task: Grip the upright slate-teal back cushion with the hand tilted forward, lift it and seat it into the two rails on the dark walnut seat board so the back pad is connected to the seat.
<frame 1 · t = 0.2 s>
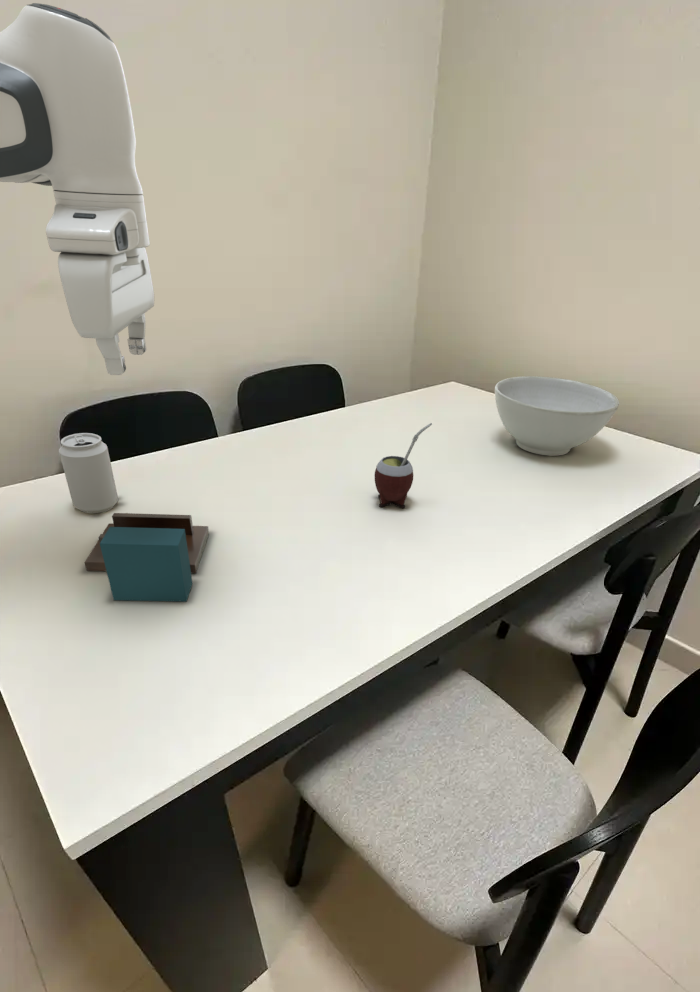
hand: (128, 363, 71), 29 cm above the table, tool pointing down, fingers open, 8 cm apart
back pad: (154, 591, 82), on the table
can: (97, 506, 102), on the table
mate gourd: (393, 503, 109), on the table
seat board: (151, 551, 91), on the table
decorative bowl: (542, 446, 136), on the table
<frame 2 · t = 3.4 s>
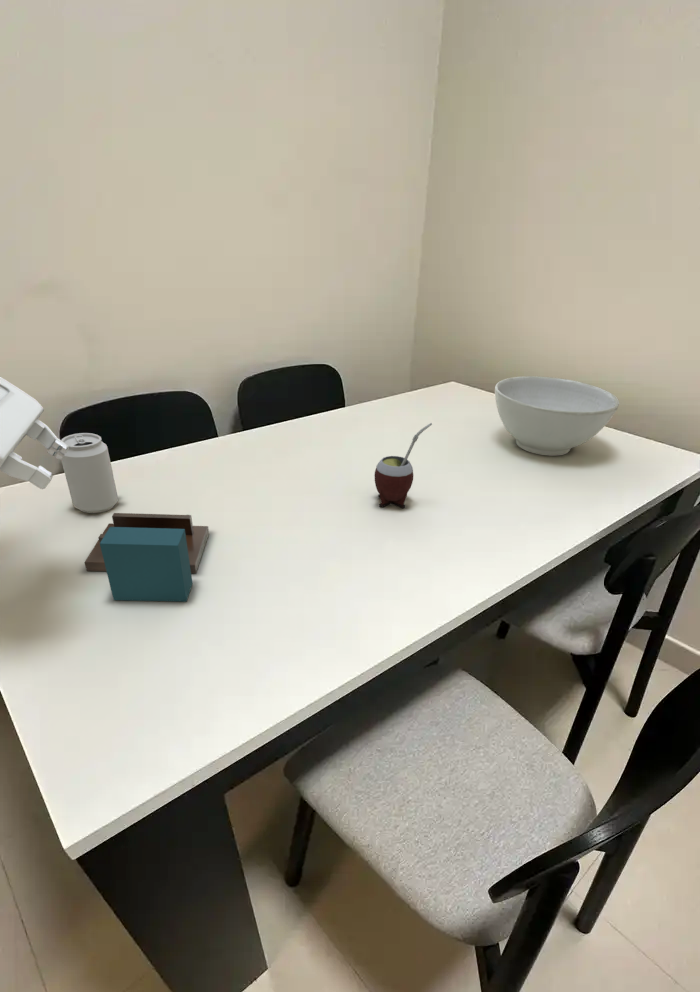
hand: (57, 467, 70), 18 cm above the table, tool tilted 45°, fingers open, 8 cm apart
nothing on the table moved.
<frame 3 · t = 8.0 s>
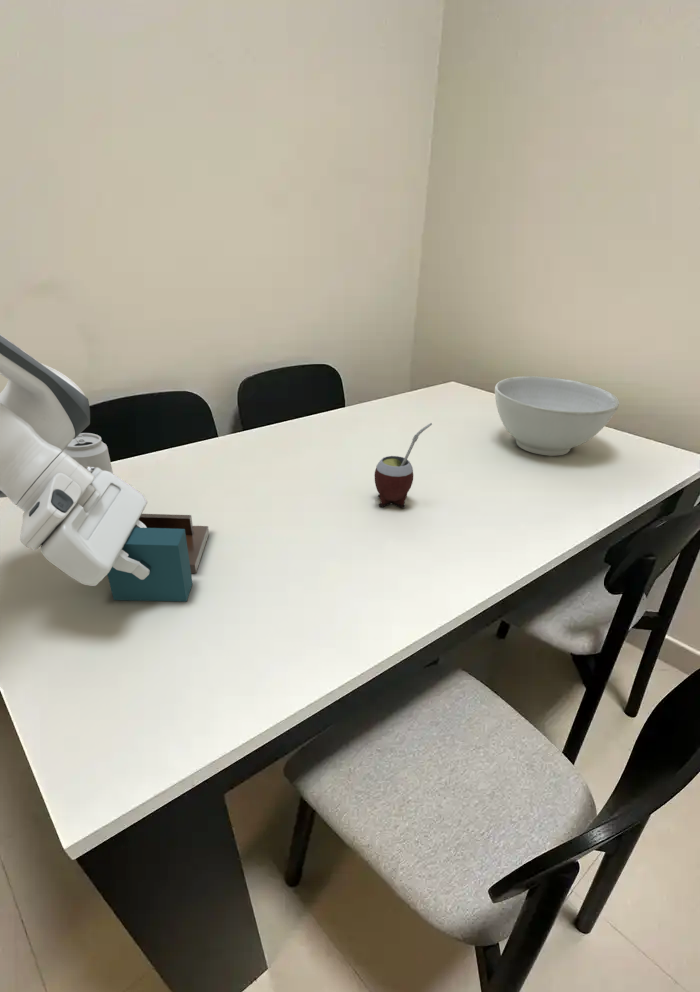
hand: (153, 562, 79), 5 cm above the table, tool tilted 45°, fingers closed on back pad, 4 cm apart
back pad: (154, 591, 82), on the table, touching gripper
everything else where it was.
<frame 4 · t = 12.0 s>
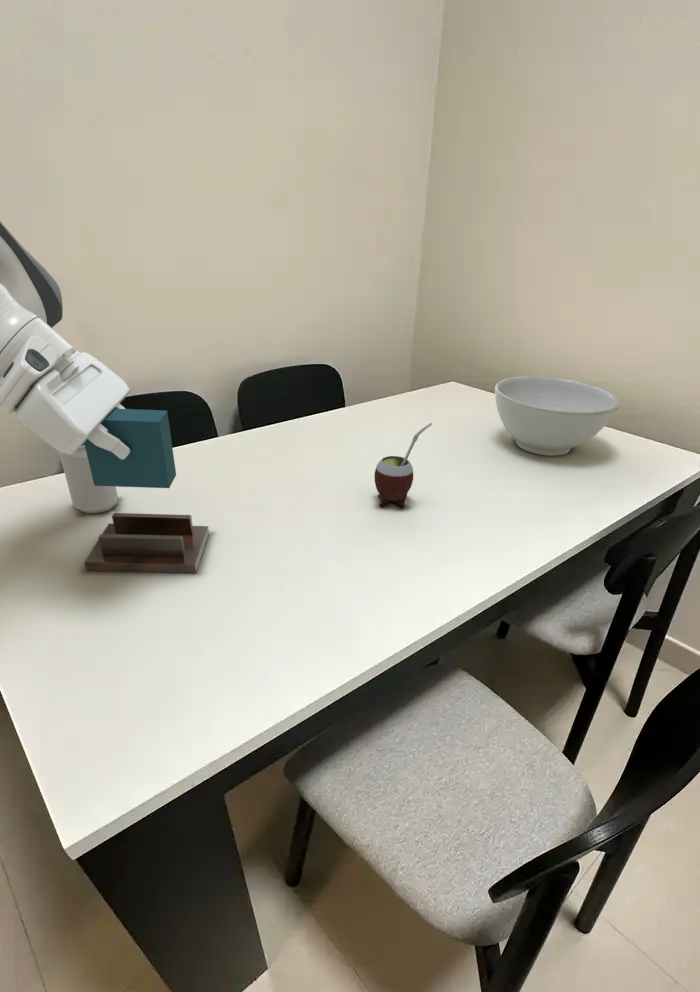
hand: (134, 446, 77), 18 cm above the table, tool tilted 45°, fingers closed on back pad, 4 cm apart
back pad: (136, 480, 80), point 13 cm above the table, touching gripper
everything else where it was.
when the fingers open (6 cm above the table, at t = 16.0 s): back pad stays where it is, resting on seat board.
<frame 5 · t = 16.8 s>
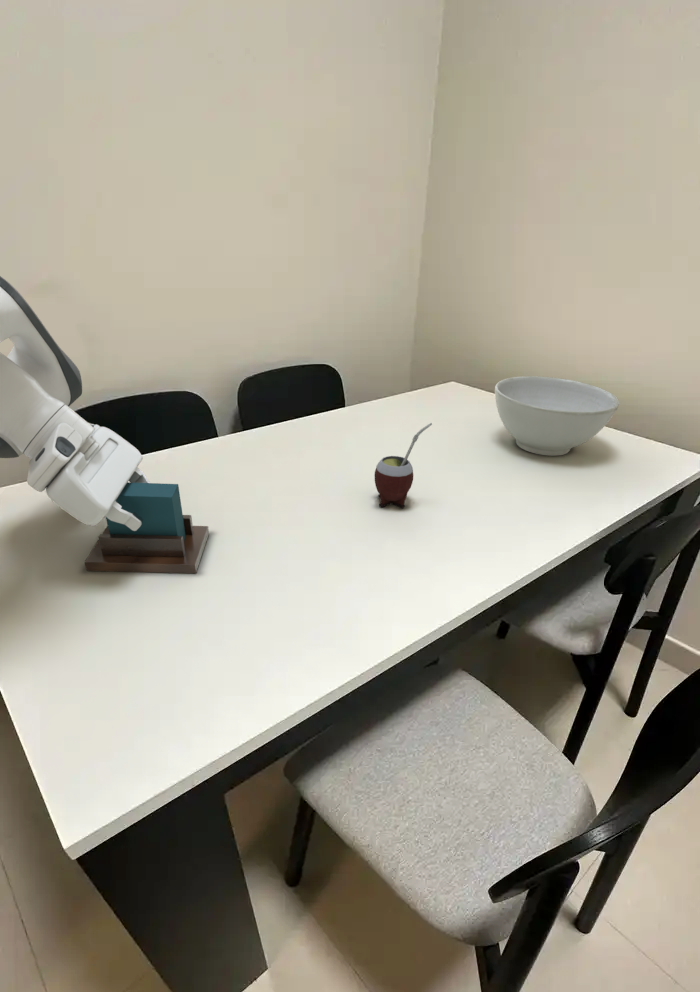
hand: (147, 510, 87), 7 cm above the table, tool tilted 45°, fingers open, 8 cm apart
back pad: (150, 543, 90), point 1 cm above the table, touching seat board
everything else where it was.
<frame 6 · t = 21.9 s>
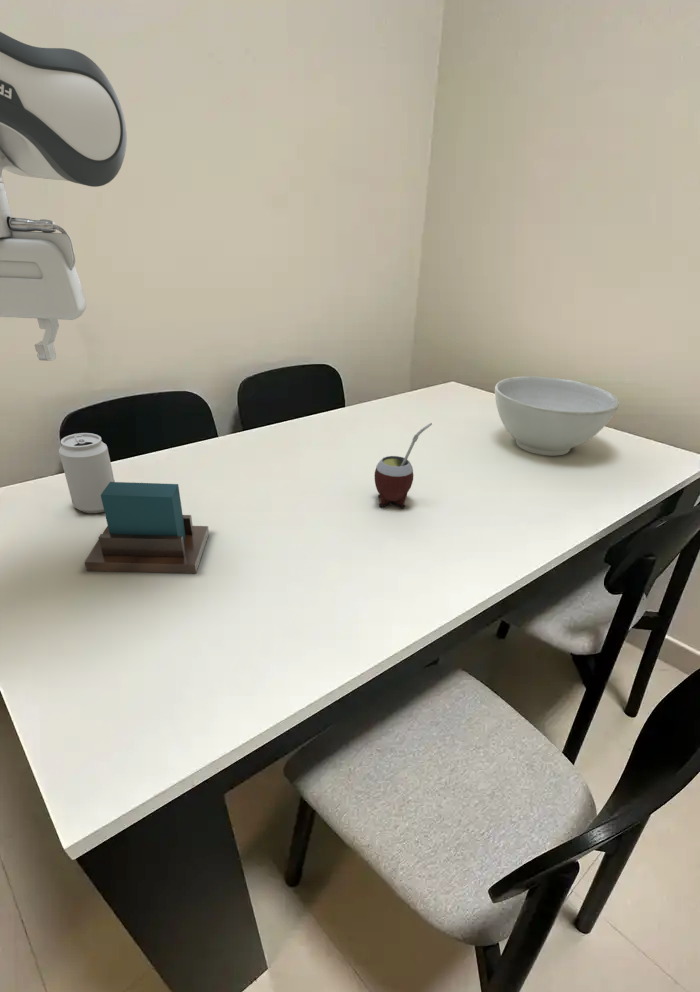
hand: (7, 357, 69), 29 cm above the table, tool pointing down, fingers open, 8 cm apart
nothing on the table moved.
at the end: back pad 0.1 cm off-centre on the seat board, point 1.5 cm above the seat board's base; back pad tilted 0°; the gripper is holding nothing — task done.
